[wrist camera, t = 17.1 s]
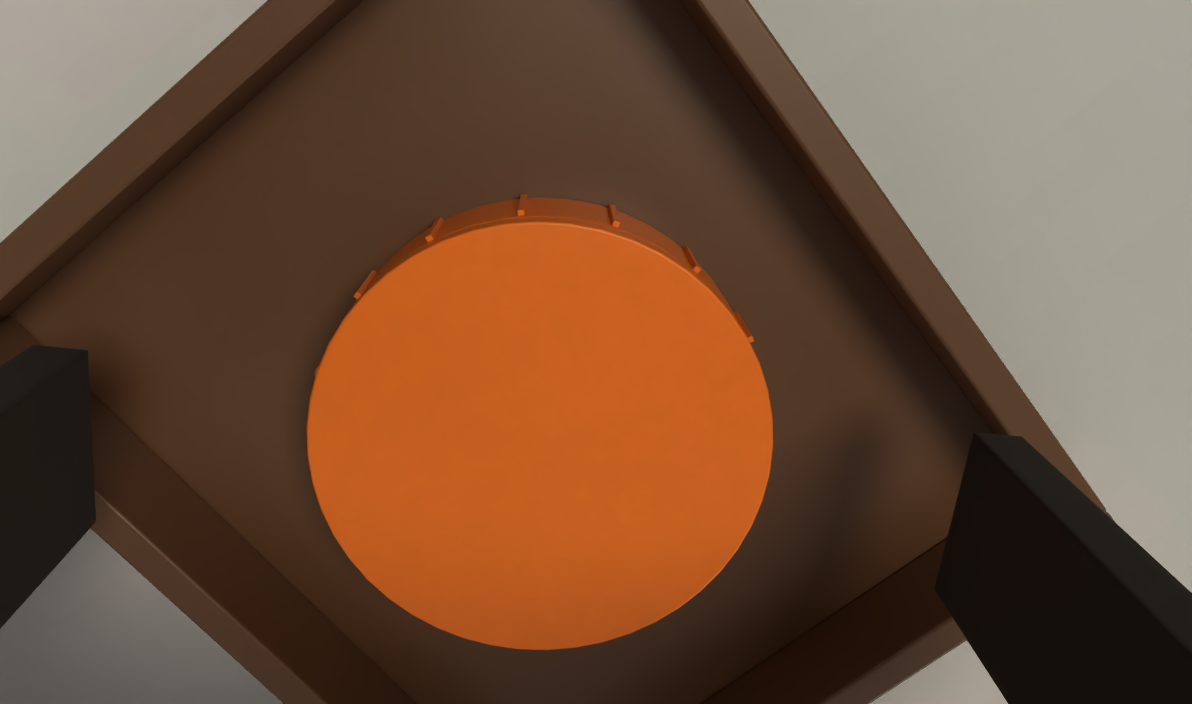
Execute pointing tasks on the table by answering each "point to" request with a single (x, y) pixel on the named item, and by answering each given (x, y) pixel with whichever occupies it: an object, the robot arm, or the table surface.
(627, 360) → the lid
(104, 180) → the tray
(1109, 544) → the robot arm
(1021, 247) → the table surface
